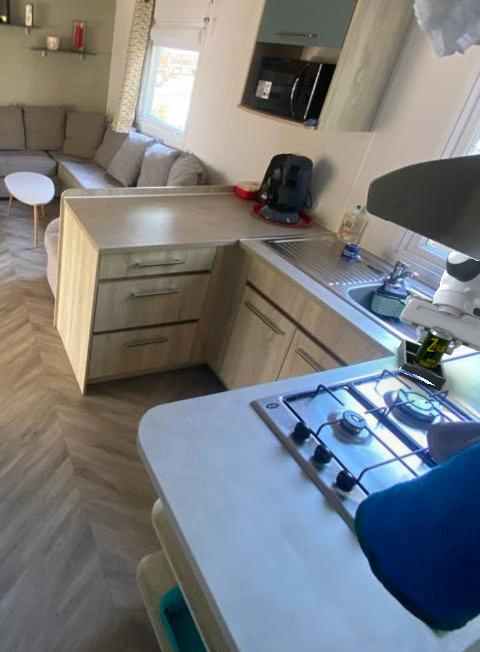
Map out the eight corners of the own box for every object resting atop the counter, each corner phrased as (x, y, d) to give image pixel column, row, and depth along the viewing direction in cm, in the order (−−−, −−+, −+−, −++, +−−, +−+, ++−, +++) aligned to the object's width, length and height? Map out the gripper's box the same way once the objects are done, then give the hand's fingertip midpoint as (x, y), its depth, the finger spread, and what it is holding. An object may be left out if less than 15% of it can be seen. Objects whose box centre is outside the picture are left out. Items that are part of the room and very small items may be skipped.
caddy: (434, 362, 130) (441, 352, 129) (439, 391, 117) (446, 380, 115) (397, 348, 135) (403, 338, 133) (398, 374, 122) (404, 363, 120)
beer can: (409, 357, 125) (428, 323, 120) (430, 363, 123) (450, 329, 118) (415, 367, 120) (435, 333, 115) (436, 374, 118) (457, 339, 113)
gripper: (411, 288, 125) (394, 327, 121) (499, 318, 114) (483, 362, 110) (406, 296, 130) (389, 334, 126) (489, 326, 119) (473, 369, 116)
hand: (433, 348), depth 118 cm, fingers closed on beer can, 5 cm apart
